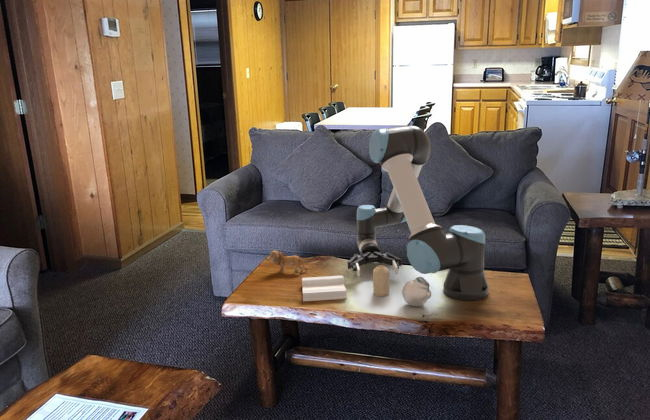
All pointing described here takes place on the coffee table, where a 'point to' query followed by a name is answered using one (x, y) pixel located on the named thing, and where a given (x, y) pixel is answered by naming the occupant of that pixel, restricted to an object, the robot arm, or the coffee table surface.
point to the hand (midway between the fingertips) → (377, 272)
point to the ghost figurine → (416, 292)
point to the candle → (381, 280)
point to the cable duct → (323, 288)
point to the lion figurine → (286, 260)
